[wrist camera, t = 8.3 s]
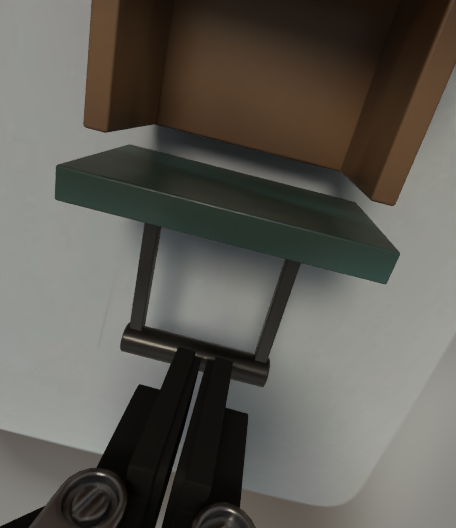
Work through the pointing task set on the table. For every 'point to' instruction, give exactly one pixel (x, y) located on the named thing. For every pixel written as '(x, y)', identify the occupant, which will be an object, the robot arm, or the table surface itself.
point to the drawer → (259, 132)
